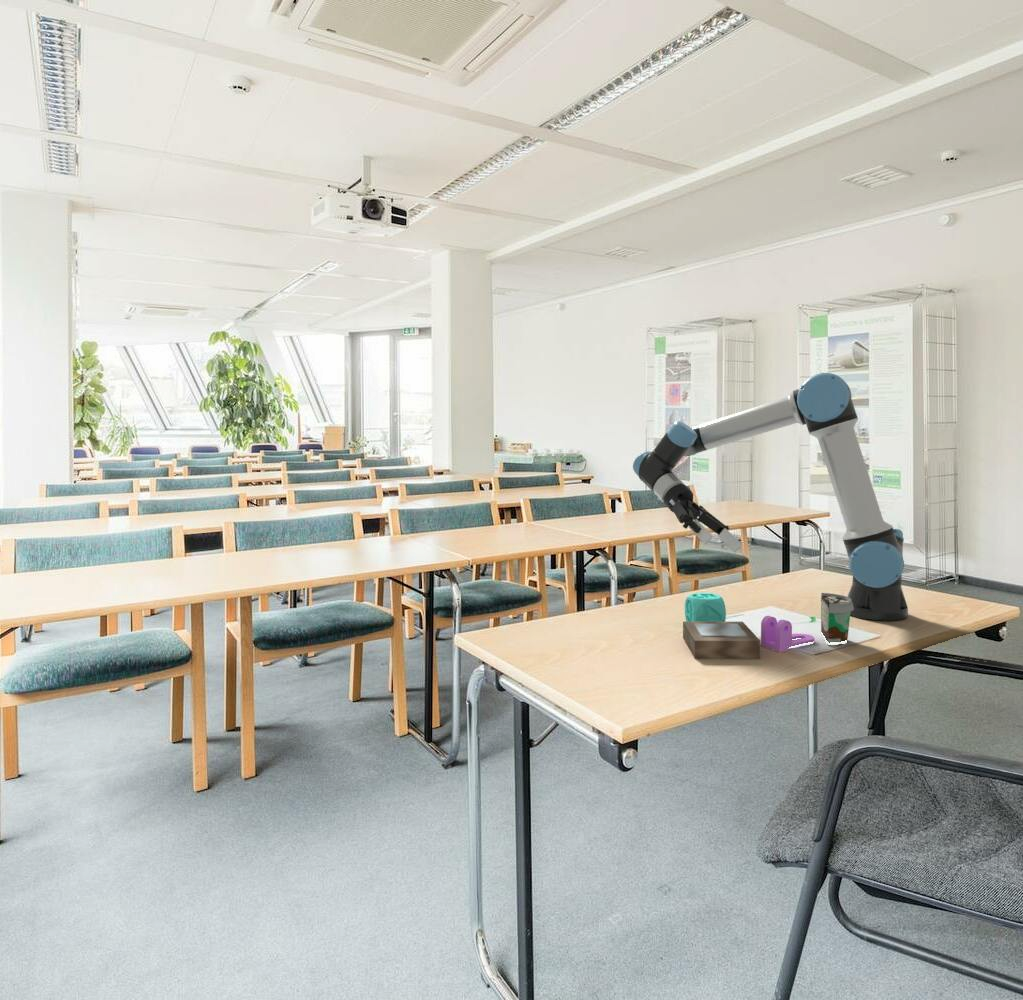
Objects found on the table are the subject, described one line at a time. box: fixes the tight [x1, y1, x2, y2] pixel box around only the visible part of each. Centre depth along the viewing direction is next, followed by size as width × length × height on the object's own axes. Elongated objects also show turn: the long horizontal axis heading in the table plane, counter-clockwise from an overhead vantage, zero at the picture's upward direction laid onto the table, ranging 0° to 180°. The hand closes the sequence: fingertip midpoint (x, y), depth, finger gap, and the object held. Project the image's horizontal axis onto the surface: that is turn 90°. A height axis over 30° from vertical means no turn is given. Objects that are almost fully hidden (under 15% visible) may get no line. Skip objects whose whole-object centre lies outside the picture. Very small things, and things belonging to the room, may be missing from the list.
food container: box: [820, 592, 854, 643], centre depth 176 cm, size 12×6×10 cm, turn 166°
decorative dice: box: [684, 592, 727, 622], centre depth 190 cm, size 8×8×8 cm
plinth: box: [682, 621, 761, 660], centre depth 172 cm, size 14×16×4 cm
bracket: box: [760, 615, 815, 653], centre depth 174 cm, size 13×6×7 cm, turn 119°
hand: (724, 544), depth 190 cm, fingers open, 13 cm apart
